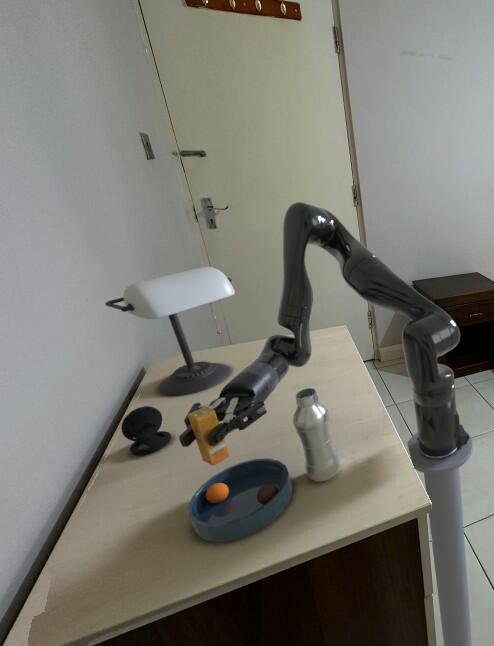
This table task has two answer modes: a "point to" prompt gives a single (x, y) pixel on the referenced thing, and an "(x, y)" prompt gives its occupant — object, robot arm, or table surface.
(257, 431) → the table surface
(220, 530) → the bowl
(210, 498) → the orange ball
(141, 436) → the webcam
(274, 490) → the brown ball
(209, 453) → the supplement box
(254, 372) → the robot arm
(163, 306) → the lamp
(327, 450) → the silver bottle
